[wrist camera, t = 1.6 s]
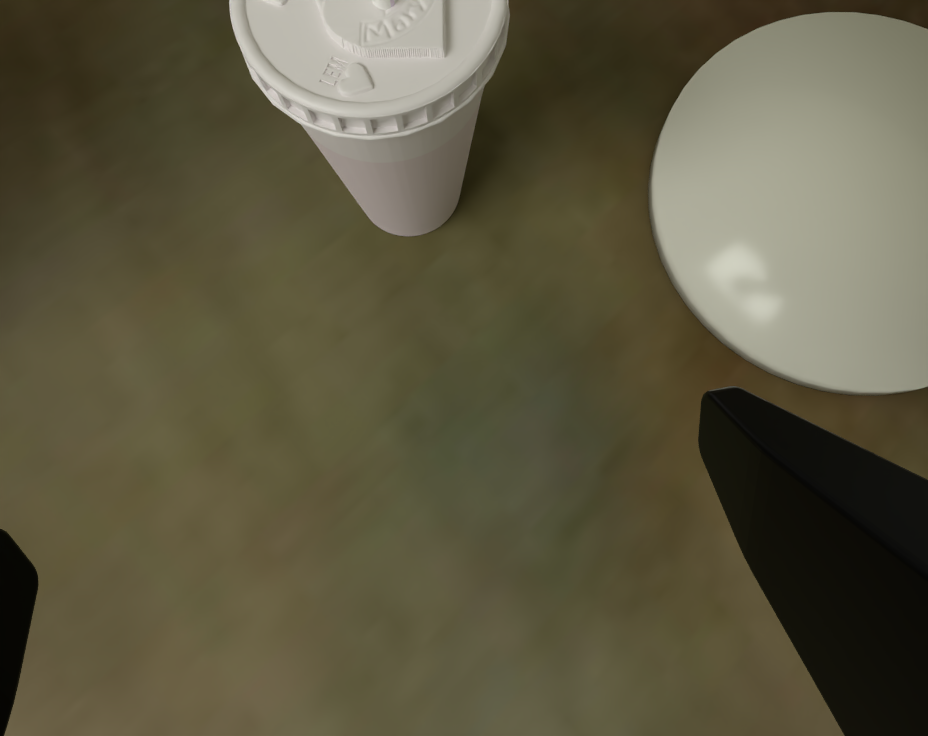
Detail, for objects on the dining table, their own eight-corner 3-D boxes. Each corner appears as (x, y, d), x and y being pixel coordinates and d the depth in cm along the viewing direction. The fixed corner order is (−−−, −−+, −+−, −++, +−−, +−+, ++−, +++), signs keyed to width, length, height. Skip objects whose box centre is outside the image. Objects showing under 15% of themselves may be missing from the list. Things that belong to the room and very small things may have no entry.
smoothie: (407, 308, 23) (312, 31, 10) (285, 189, 24) (42, -213, 11) (534, 187, 24) (610, -225, 11) (411, 77, 25) (335, -430, 12)
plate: (1122, 188, 24) (1149, 175, 23) (892, 483, 22) (912, 481, 21) (803, -35, 26) (816, -56, 25) (567, 216, 24) (571, 204, 23)
